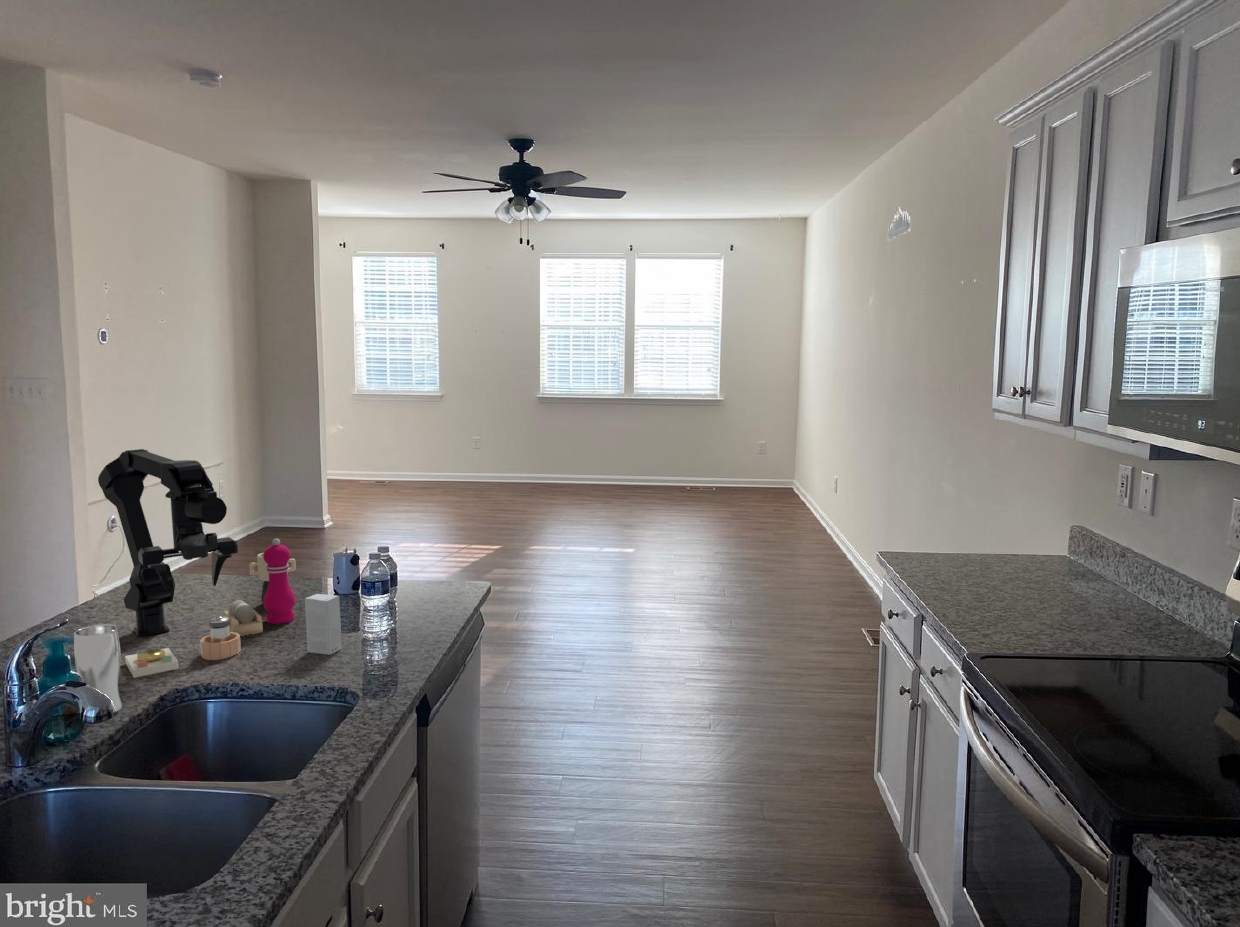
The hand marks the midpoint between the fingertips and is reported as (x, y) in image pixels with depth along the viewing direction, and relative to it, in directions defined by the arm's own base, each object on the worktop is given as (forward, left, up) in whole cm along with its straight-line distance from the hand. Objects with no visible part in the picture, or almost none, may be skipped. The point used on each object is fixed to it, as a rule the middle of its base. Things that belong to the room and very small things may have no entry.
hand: (191, 589), depth 185 cm
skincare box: (+22, +21, -13) cm, 33 cm away
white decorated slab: (+9, -10, -12) cm, 18 cm away
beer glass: (+28, -21, -13) cm, 37 cm away
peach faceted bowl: (+10, +3, -12) cm, 16 cm away
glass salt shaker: (+10, +3, -12) cm, 16 cm away
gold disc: (+9, -10, -11) cm, 17 cm away
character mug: (-21, +23, -13) cm, 34 cm away
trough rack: (-4, +11, -12) cm, 17 cm away
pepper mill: (-6, +20, -13) cm, 24 cm away
